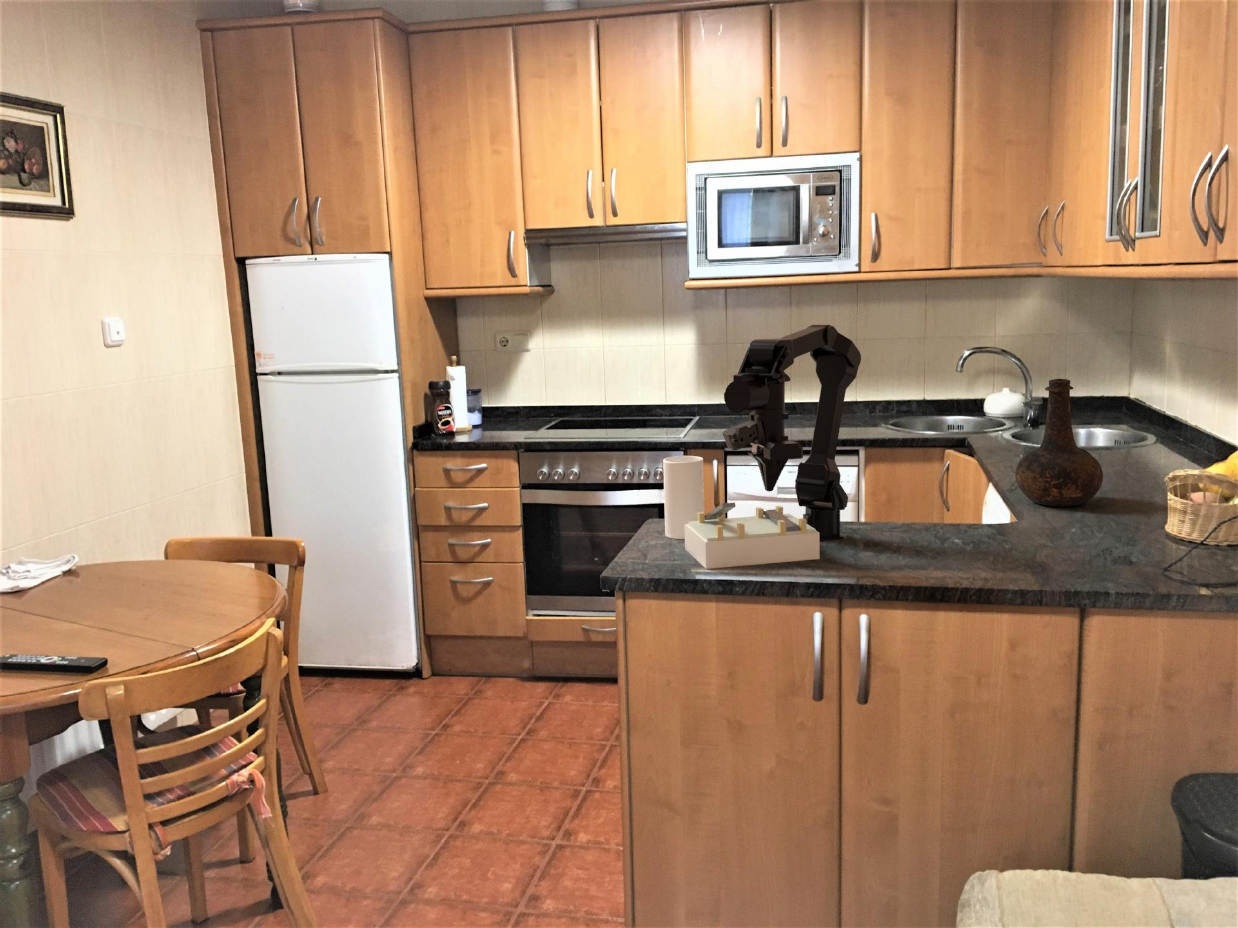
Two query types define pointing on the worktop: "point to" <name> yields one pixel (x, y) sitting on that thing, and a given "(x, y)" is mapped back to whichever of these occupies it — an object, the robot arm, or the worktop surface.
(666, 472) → the cup
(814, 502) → the robot arm
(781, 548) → the storage box
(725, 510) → the strap
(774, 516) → the strap
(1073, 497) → the glass bottle
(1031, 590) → the worktop surface
